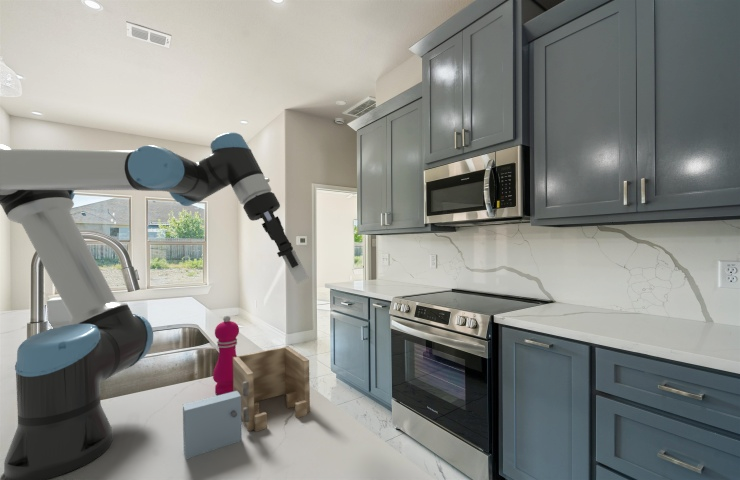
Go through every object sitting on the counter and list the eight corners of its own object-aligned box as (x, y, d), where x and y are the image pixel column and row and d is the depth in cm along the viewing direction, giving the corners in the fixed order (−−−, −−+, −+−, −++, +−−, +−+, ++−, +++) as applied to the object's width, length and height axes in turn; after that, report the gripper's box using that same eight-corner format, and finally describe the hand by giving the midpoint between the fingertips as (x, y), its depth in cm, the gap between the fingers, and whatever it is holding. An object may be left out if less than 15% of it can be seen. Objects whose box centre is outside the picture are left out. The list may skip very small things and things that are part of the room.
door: (186, 461, 63) (185, 412, 63) (183, 451, 66) (182, 404, 66) (242, 442, 69) (241, 397, 69) (238, 433, 72) (237, 390, 72)
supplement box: (78, 327, 164) (78, 295, 163) (74, 331, 156) (73, 298, 156) (53, 329, 159) (52, 297, 159) (47, 334, 151) (46, 300, 151)
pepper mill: (232, 397, 88) (230, 319, 88) (207, 395, 90) (205, 318, 90) (247, 385, 95) (246, 313, 95) (224, 383, 97) (223, 312, 97)
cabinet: (245, 434, 71) (244, 376, 71) (229, 407, 83) (228, 357, 83) (311, 413, 80) (310, 361, 80) (289, 391, 91) (288, 346, 91)
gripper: (269, 175, 67) (321, 271, 68) (275, 202, 92) (313, 273, 92) (232, 192, 66) (286, 290, 66) (249, 215, 90) (288, 287, 90)
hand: (302, 280), depth 79 cm, fingers open, 13 cm apart
